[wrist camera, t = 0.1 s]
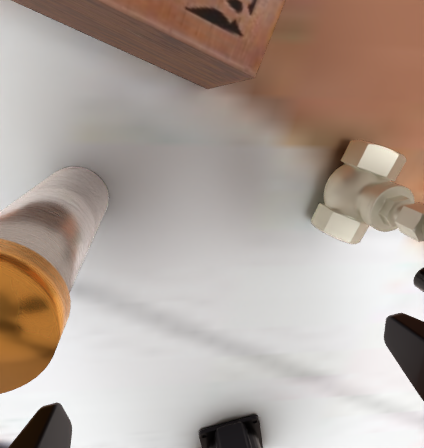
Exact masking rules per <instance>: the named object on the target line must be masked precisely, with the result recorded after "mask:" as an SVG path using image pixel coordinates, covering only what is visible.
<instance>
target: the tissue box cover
mask: <svg viewBox="0 0 424 448" xmlns="http://www.w3.org/2000/svg"><path fill="white" fill-rule="evenodd" d="M12 1H14V2H16V3H19V4H21V5H23V6H25V7H27V8H30V9H32V10H34V11H36V12H38V13H41V14H43V15H45V16H47V17H50V18H52V19H54V20H56V21H58V22H61V23H63V24H65V25H67V26H69V27H72V28H74V29H76V30H78V31H80V32H83V33H85V34H87V35H89V36H92V37H94V38H96V39H98V40H100V41H103V42H105V43H107V44H109V45H111V46H114V47H116V48H118V49H120V50H122V51H125V52H127V53H129V54H131V55H134V56H136V57H138V58H140V59H142V60H145V61H147V62H149V63H151V64H153V65H156V66H158V67H160V68H162V69H165V70H167V71H169V72H171V73H173V74H176V75H178V76H180V77H182V78H184V79H187V80H189V81H191V82H193V83H195V84H198V85H200V86H202V87H204V88H206V89H210V88H214V87H218V86H222V85H226V84H231V83H235V82H239V81H243V80H247V79H252V78H255V76H256V74H257V71H258V69H259V66H260V64H261V61H262V59H263V56H264V54H265V51H266V49H267V46H268V44H269V41H270V39H271V36H272V33H273V31H274V28H275V26H276V23H277V21H278V18H279V16H280V13H281V11H282V8H283V6H284V3H285V1H286V0H12Z"/></svg>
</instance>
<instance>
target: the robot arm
mask: <svg viewBox="0 0 424 448" xmlns="http://www.w3.org/2000/svg"><path fill="white" fill-rule="evenodd" d="M384 341H385V344H386V346H387V347H388V349H389V350H390V352H391V353H392V355H393V356H394V358H395V359H396V361H397V362H398V364H399V365H400V367H401V368H402V370H403V371H404V373H405V374H406V376H407V377H408V379H409V380H410V382H411V383H412V385H413V386H414V388H415V389H416V391H417V392H418V394H419V395H420V397H421V398H422V399H423V401H424V322H423V321H421V320H418V319H416V318H414V317H411V316H409V315H406V314H403V313H398V314H394V315H390V316H388V317H387V318H386V324H385V332H384ZM71 436H72V425H71V422H70V420H69V418H68V416H67V414H66V412H65V411H64V409H63V407H62V405H61V404H60V403H53V404H50V405H46V406H43V407H41V408H40V409H39V410H38V411H37V413H36V414H35V415H34V416H33V418H32V419H31V420H30V421H29V423H28V424H27V425H26V426H25V428H24V429H23V430H22V431H21V433H20V434H19V435H18V436H17V438H16V439H15V440H14V441H13V443H12V444H11V445H10V446H9V448H70V445H71ZM199 438H200V442H201V445H202V448H263V446H262V438H261V430H260V422H259V418H258V416H257V415H252V416H249V417H245V418H242V419H238V420H235V421H231V422H228V423H224V424H221V425H217V426H214V427H210V428H207V429H203V430H201V431H200V432H199Z"/></svg>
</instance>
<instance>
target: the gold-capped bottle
mask: <svg viewBox="0 0 424 448" xmlns="http://www.w3.org/2000/svg"><path fill="white" fill-rule="evenodd" d="M108 204H109V193H108V189H107V187H106V185H105V183H104V182H103V180H102V179H101V178H100V177H99V176H98V175H97V174H95V173H94V172H92V171H90V170H88V169H86V168H82V167H74V166H72V167H65V168H62V169H60V170H58V171H56V172H55V173H53V174H52V175H51V176H49V177H48V178H46V179H45V180H44V181H42V182H41V183H39V184H38V185H37V186H35V187H34V188H32V189H31V190H30V191H28V192H27V193H25V194H24V195H23V196H21V197H20V198H18V199H17V200H16V201H14V202H13V203H11V204H10V205H9V206H7V207H6V208H4V209H3V210H1V211H0V394H1V393H5V392H8V391H11V390H14V389H16V388H19V387H21V386H23V385H25V384H27V383H28V382H30V381H31V380H33V379H34V378H36V377H37V376H38V375H39V374H40V373H41V372H42V371H43V370H44V369H45V368H46V367H47V366H48V364H49V363H50V361H51V359H52V357H53V355H54V353H55V350H56V348H57V345H58V343H59V340H60V338H61V335H62V333H63V330H64V328H65V325H66V322H67V320H68V317H69V313H70V295H69V293H70V291H71V288H72V286H73V284H74V282H75V279H76V277H77V275H78V273H79V270H80V268H81V266H82V264H83V261H84V259H85V257H86V255H87V252H88V250H89V248H90V246H91V243H92V241H93V239H94V237H95V234H96V232H97V230H98V227H99V225H100V223H101V221H102V218H103V216H104V214H105V212H106V209H107V207H108Z"/></svg>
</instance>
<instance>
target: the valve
mask: <svg viewBox="0 0 424 448" xmlns="http://www.w3.org/2000/svg"><path fill="white" fill-rule="evenodd" d="M341 161H342V162H344V164H343V165H342V166H340V167H339V168H338V169H336V170H335V171H334V172H333V173H332V175H331V176H330V177H329V179H328V181H327V183H326V185H325V189H324V204H322V203H319V205H318V207H317V209H316V211H315V213H314V215H313V217H312V219H311V223H312V224H313V225H314V226H315V227H316V228H317V229H319V230H320V231H322V232H324V233H325V234H327V235H329V236H331V237H333V238H336V239H338V240H340V241H343V242H346V243H350V244H357V243H359V242H360V241H361V239H362V237H363V236H364V234H365V232H366V230H367V229H368V227H369V226H371V227H373V228H375V229H376V230H379V231H383V232H387V231H392V230H395V229H397V228H399V230H400V232H401V233H403V234H405V235H407V236H409V237H411V238H412V239H414V240H416V241H418V242H420V241H424V204H423V203H420V202H418V203H414V196H413V193H412V192H411V190H409V189H408V188H407V187H405V186H402V185H399V184H396V183H393V182H390V180H391V181H394V182H395V180H396V178H397V176H398V175H399V173H400V171H401V169H402V168H403V166H404V164H405V162H406V158H405V156H404V155H402V154H400V153H398V152H396V151H394V150H391V149H389V148H386V147H383V146H380V145H377V144H374V143H371V142H367V141H363V140H351V141H350V143H349V145H348V147H347V149H346V151H345V153H344V155H343V157H342V159H341ZM414 285H415V286H416V287H417V288H419V289H420V290H421V291H423V292H424V268H422V269H421V270H419V271H418V272H417V273H416V275H415V277H414Z"/></svg>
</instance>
